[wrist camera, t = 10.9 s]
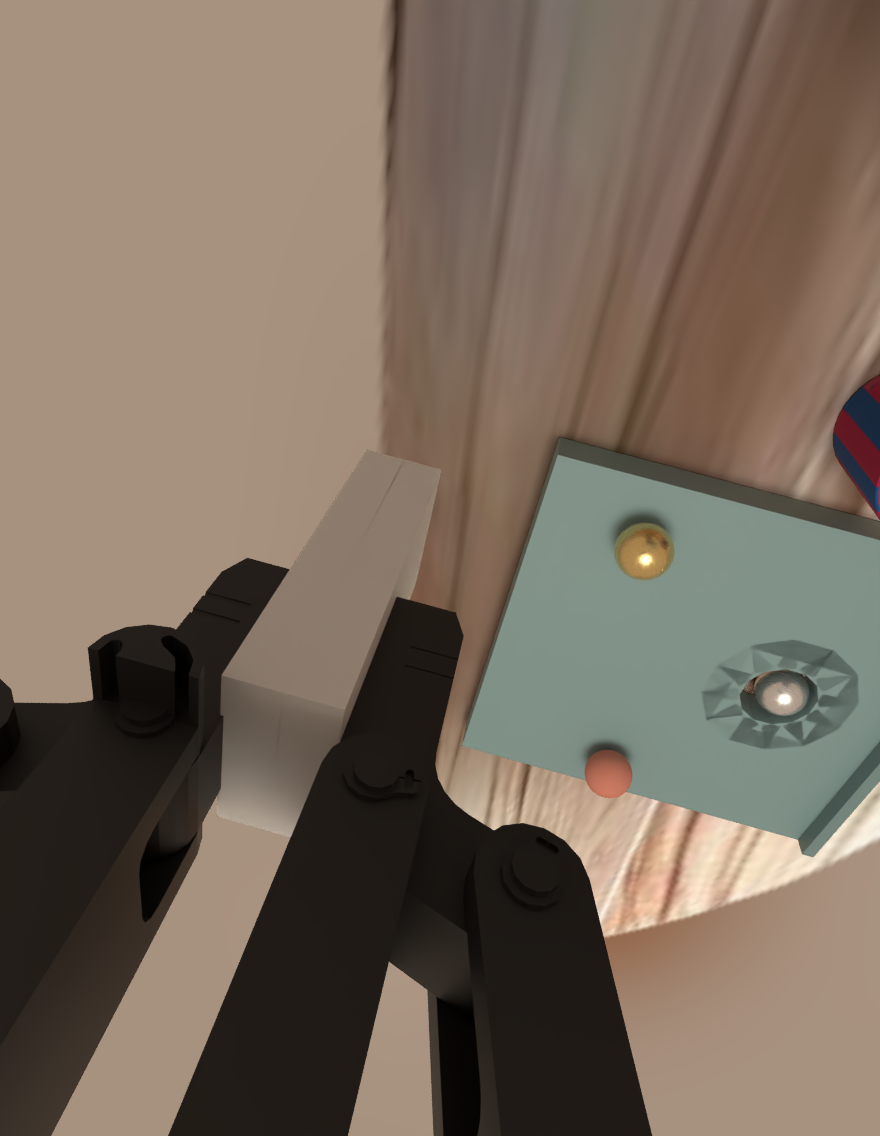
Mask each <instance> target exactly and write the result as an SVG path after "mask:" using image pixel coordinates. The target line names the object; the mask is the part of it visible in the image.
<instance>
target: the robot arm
mask: <svg viewBox="0 0 880 1136" xmlns="http://www.w3.org/2000/svg"><path fill="white" fill-rule="evenodd" d="M440 475H441V469H437V468H433V467H430V466H426V465H422V464H418V463H415V462H411V461H407V460H403V459H400V458H396V457H392V456H388V455H385V454H381V453H377V452H373V451H370V450H367V451H366V452H365V454H364V455H363V457H362V458H361V460H360V461H359V463H358V464H357V466H356V468H355V469H354V471H353V472H352V474H351V475H350V477H349V478H348V480H347V481H346V483H345V485H344V486H343V488H342V489H341V491H340V493H339V494H338V495H337V497H336V499H335V500H334V502H333V503H332V505H331V506H330V508H329V509H328V511H327V513H326V514H325V516H324V517H323V519H322V521H321V522H320V523H319V525H318V527H317V528H316V530H315V531H314V533H313V534H312V536H311V537H310V539H309V540H308V542H307V544H306V545H305V547H304V548H303V550H302V551H301V553H300V554H299V556H298V558H297V559H296V561H295V562H294V564H293V565H292V567H291V569H286V568H283V567H279V566H275V565H272V564H268V563H264V562H260V561H256V560H253V559H249V558H246V559H244V560H243V561H241V562H239V563H237V564H236V565H233V566H232V567H230V568H228V569H226V570H224V571H222V572H221V574H220V575H219V576H218V577H217V579H216V580H215V581H214V582H213V584H212V585H211V586H210V588H209V589H208V590H207V591H206V594H205V596H202V597H201V599H200V600H199V601H198V603H197V604H196V605H195V607H194V608H193V611H192V613H191V612H190V613H189V614H188V615H187V617H186V618H185V619H184V620H183V622H182V623H181V625H180V626H179V627H178V628H177V629H176V630H175V629H173V628H171V627H162V626H156V625H142V626H133V627H125V628H123V629H120V630H117V631H115V632H112V633H109V634H107V635H104V636H103V637H101V638H100V639H99V640H97V641H96V642H95V643H94V644H92V645H91V646H89V647H88V653H89V662H90V671H91V680H92V689H93V700H92V701H87V702H81V703H79V702H78V703H14V701H13V696H12V691H11V689H10V688H9V687H8V686H7V685H6V684H5V683H4V682H3V681H2V680H1V679H0V1136H51V1135H52V1133H53V1131H54V1129H55V1127H56V1125H57V1123H58V1121H59V1119H60V1117H61V1115H62V1114H63V1112H64V1110H65V1108H66V1106H67V1104H68V1102H69V1100H70V1098H71V1096H72V1094H73V1092H74V1090H75V1089H76V1086H77V1085H78V1082H79V1081H80V1079H81V1077H82V1075H83V1073H84V1071H85V1069H86V1067H87V1065H88V1063H89V1062H90V1060H91V1058H92V1056H93V1054H94V1052H95V1050H96V1048H97V1046H98V1044H99V1042H100V1040H101V1038H102V1037H103V1035H104V1033H105V1031H106V1029H107V1027H108V1025H109V1023H110V1021H111V1019H112V1017H113V1015H114V1013H115V1011H116V1010H117V1008H118V1006H119V1004H120V1002H121V1000H122V998H123V996H124V994H125V992H126V990H127V988H128V986H129V985H130V983H131V981H132V979H133V977H134V975H135V973H136V971H137V969H138V967H139V965H140V963H141V962H142V959H143V958H144V956H145V954H146V952H147V950H148V948H149V946H150V944H151V942H152V940H153V938H154V936H155V935H156V933H157V931H158V929H159V927H160V925H161V923H162V921H163V919H164V917H165V915H166V913H167V911H168V910H169V907H170V906H171V904H172V902H173V900H174V898H175V896H176V894H177V892H178V890H179V888H180V886H181V884H182V883H183V880H184V878H185V877H186V875H187V873H188V871H189V869H190V867H191V865H192V863H193V861H194V859H195V858H196V856H197V853H198V850H199V847H200V843H201V839H202V822H203V821H204V819H205V817H206V815H207V813H208V811H209V809H210V807H211V806H212V804H213V802H214V800H215V798H216V796H217V816H218V817H221V818H225V819H229V820H232V821H236V822H239V823H242V824H246V825H249V826H253V827H256V828H260V829H263V830H267V831H270V832H274V833H277V834H281V835H284V836H288V837H291V838H290V840H289V843H288V845H287V848H286V850H285V853H284V855H283V857H282V860H281V862H280V865H279V867H278V870H277V872H276V875H275V877H274V879H273V882H272V884H271V887H270V889H269V892H268V894H267V896H266V899H265V901H264V904H263V906H262V909H261V911H260V913H259V916H258V918H257V921H256V923H255V926H254V928H253V931H252V933H251V935H250V938H249V940H248V943H247V945H246V948H245V950H244V952H243V955H242V957H241V960H240V962H239V965H238V967H237V969H236V972H235V975H234V977H233V979H232V982H231V984H230V986H229V989H228V992H227V994H226V996H225V999H224V1001H223V1004H222V1006H221V1008H220V1011H219V1013H218V1016H217V1018H216V1021H215V1023H214V1026H213V1028H212V1030H211V1033H210V1036H209V1038H208V1040H207V1043H206V1045H205V1047H204V1050H203V1052H202V1055H201V1057H200V1060H199V1062H198V1064H197V1067H196V1069H195V1072H194V1074H193V1077H192V1079H191V1082H190V1084H189V1086H188V1089H187V1091H186V1094H185V1096H184V1099H183V1101H182V1103H181V1106H180V1109H179V1111H178V1113H177V1116H176V1118H175V1120H174V1123H173V1125H172V1128H171V1130H170V1133H169V1135H168V1136H348V1133H349V1128H350V1124H351V1120H352V1116H353V1111H354V1107H355V1103H356V1099H357V1094H358V1090H359V1086H360V1082H361V1077H362V1073H363V1069H364V1065H365V1060H366V1056H367V1051H368V1048H369V1043H370V1039H371V1035H372V1031H373V1026H374V1022H375V1018H376V1014H377V1010H378V1005H379V1001H380V997H381V993H382V988H383V984H384V980H385V976H386V971H387V967H388V962H390V963H392V964H393V965H394V966H396V967H397V968H398V969H400V970H401V971H403V972H404V973H405V974H407V975H408V976H409V977H411V978H412V979H414V980H415V981H416V982H418V983H419V984H420V985H422V986H423V987H424V988H426V989H427V990H428V1011H429V1034H430V1035H429V1036H430V1059H431V1084H432V1107H433V1108H432V1109H433V1131H434V1132H433V1133H434V1136H652V1133H651V1129H650V1125H649V1121H648V1117H647V1113H646V1109H645V1105H644V1101H643V1097H642V1092H641V1088H640V1084H639V1080H638V1076H637V1072H636V1068H635V1064H634V1060H633V1056H632V1052H631V1048H630V1043H629V1039H628V1036H627V1031H626V1027H625V1023H624V1019H623V1015H622V1011H621V1006H620V1002H619V998H618V994H617V990H616V986H615V982H614V978H613V974H612V970H611V966H610V962H609V958H608V953H607V949H606V945H605V941H604V937H603V933H602V929H601V925H600V920H599V916H598V912H597V908H596V904H595V900H594V896H593V892H592V888H591V884H590V880H589V877H588V875H587V873H586V870H585V868H584V866H583V864H582V861H581V859H580V858H579V856H578V855H577V854H576V853H575V852H574V851H573V850H572V849H571V847H570V846H569V845H568V844H567V843H566V842H565V841H564V840H563V839H561V838H559V837H558V836H556V835H554V834H553V833H551V832H550V831H548V830H546V829H545V828H541V827H537V826H533V825H528V824H524V823H520V824H512V825H503V826H501V827H500V828H498V829H496V830H492V829H491V828H489V827H487V826H486V825H484V824H483V823H481V822H479V821H478V820H476V819H475V818H473V817H471V816H470V815H468V814H467V813H466V812H464V811H463V810H462V809H461V808H459V807H458V806H457V805H455V803H454V802H453V801H452V800H451V799H450V797H449V796H448V795H447V794H446V793H445V791H444V789H443V787H442V785H441V783H440V781H439V780H438V776H437V771H436V767H435V761H436V751H437V747H438V743H439V738H440V734H441V730H442V725H443V721H444V717H445V713H446V708H447V704H448V700H449V696H450V691H451V687H452V682H453V679H454V674H455V670H456V666H457V661H458V657H459V653H460V649H461V645H462V640H463V633H462V630H461V627H460V624H459V621H458V618H457V615H456V613H455V612H451V611H448V610H444V609H440V608H437V607H433V606H429V605H426V604H422V603H418V602H415V601H411V600H410V597H411V594H412V592H413V589H414V586H415V583H416V580H417V576H418V571H419V567H420V563H421V558H422V554H423V549H424V545H425V541H426V536H427V532H428V527H429V523H430V519H431V514H432V510H433V506H434V501H435V497H436V492H437V488H438V484H439V479H440Z"/></svg>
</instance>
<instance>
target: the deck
mask: <svg viewBox="0 0 880 1136" xmlns="http://www.w3.org/2000/svg"><path fill="white" fill-rule="evenodd" d="M642 522H647V523H653V524H656V525H658V526H660V527H662V528H663V529H664V530H665V531H667V533H668V534H669V535H670V537H671V538H672V541H673V544H674V549H675V554H674V559H673V562H672V564H671V566H670V568H669V569H668V570H667V571H666V572H665V573H664V574H663V575H661V576H660V577H658V578H655V579H652V580H646V581H642V580H636V579H633V578H631V577H629V576H627V575H626V574H624V573H623V572H622V571H621V570H620V568H619V567H618V565H617V563H616V561H615V556H614V547H615V543H616V540H617V538H618V537H619V535H620V534H621V533H622V531H623V530H625V529H626V528H627V527H629V526H631V525H633V524H636V523H642ZM785 669H787V670H790V671H794V672H798V673H801V674H805V675H806V678H805V680H806V681H807V683H808V686H809V699H808V701H807V703H806V705H805V706H804V708H803V709H802V710H800V711H799V712H797V713H795V714H793V715H789V716H779V715H775V714H772V713H770V712H768V711H766V710H765V709H764V708H763V707H762V706H761V705H760V704H759V703H758V701H757V699H756V697H755V695H752V694H748V693H746V692H745V691H743V688H744V687H745V685H746V684H747V682H748V681H749V680H751V679H753V678H755V677H757V676H758V675H760V674H762V673H764V672H769V671H777V670H785ZM462 746H464V747H468V748H472V749H475V750H479V751H482V752H486V753H489V754H493V755H497V756H500V757H504V758H507V759H511V760H515V761H518V762H522V763H525V764H529V765H532V766H536V767H540V768H543V769H547V770H550V771H554V772H557V773H561V774H565V775H568V776H572V777H575V778H579V779H583V780H586V779H585V766H586V763H587V761H588V759H589V758H590V757H591V756H592V755H593V754H594V753H596V752H598V751H601V750H613V751H616V752H618V753H620V754H622V755H623V756H624V757H625V758H626V759H627V761H628V762H629V764H630V766H631V769H632V782H631V785H630V787H629V788H628V790H627V791H626V792H629V793H633V794H636V795H640V796H643V797H647V798H651V799H654V800H658V801H661V802H665V803H668V804H672V805H676V806H679V807H683V808H686V809H690V810H694V811H697V812H701V813H704V814H708V815H711V816H715V817H719V818H722V819H726V820H729V821H733V822H736V823H740V824H744V825H747V826H751V827H754V828H758V829H762V830H765V831H769V832H772V833H776V834H779V835H783V836H787V837H790V838H794V839H797V840H798V841H799V845H800V848H801V852H802V854H803V855H807V856H811V857H814V856H815V855H816V853H817V852H818V851H819V850H820V849H821V848H822V847H823V845H824V844H825V843H826V842H827V841H828V840H829V839H830V837H831V836H832V835H833V834H834V833H835V832H836V831H837V829H838V828H839V827H840V826H841V825H842V824H843V823H844V821H845V820H846V819H847V818H848V817H849V816H850V815H851V813H852V812H853V811H854V810H855V809H856V808H857V807H858V805H859V804H860V803H861V802H862V801H863V800H864V799H865V798H866V796H867V795H868V794H869V793H870V792H871V791H872V790H873V788H874V787H875V786H876V785H877V784H878V783H879V782H880V522H879V521H875V520H871V519H867V518H864V517H860V516H856V515H852V514H849V513H845V512H841V511H837V510H833V509H830V508H826V507H822V506H818V505H814V504H811V503H807V502H803V501H799V500H796V499H792V498H788V497H784V496H780V495H777V494H773V493H769V492H765V491H761V490H758V489H754V488H750V487H746V486H742V485H739V484H735V483H731V482H727V481H724V480H720V479H716V478H712V477H708V476H705V475H701V474H697V473H693V472H689V471H686V470H682V469H678V468H674V467H671V466H667V465H663V464H659V463H655V462H652V461H648V460H644V459H640V458H636V457H633V456H629V455H625V454H621V453H618V452H614V451H610V450H606V449H602V448H599V447H595V446H591V445H587V444H583V443H580V442H576V441H572V440H568V439H564V438H561V437H559V440H558V443H557V446H556V449H555V452H554V455H553V458H552V461H551V464H550V467H549V471H548V474H547V477H546V480H545V483H544V486H543V489H542V492H541V495H540V498H539V501H538V504H537V507H536V510H535V514H534V517H533V520H532V523H531V526H530V529H529V532H528V535H527V538H526V541H525V544H524V547H523V550H522V553H521V557H520V560H519V563H518V566H517V569H516V572H515V575H514V578H513V581H512V584H511V587H510V590H509V593H508V596H507V600H506V603H505V606H504V609H503V612H502V615H501V618H500V621H499V624H498V627H497V630H496V633H495V636H494V639H493V643H492V646H491V649H490V652H489V655H488V658H487V661H486V664H485V667H484V670H483V673H482V676H481V679H480V682H479V686H478V689H477V692H476V695H475V698H474V701H473V704H472V707H471V710H470V713H469V716H468V719H467V723H466V728H465V733H464V738H463V743H462Z"/></svg>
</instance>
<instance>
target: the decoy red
mask: <svg viewBox="0 0 880 1136" xmlns="http://www.w3.org/2000/svg"><path fill="white" fill-rule="evenodd" d="M585 779H586V782H587V784H588V786H589V787H590V789H591V790H592V791H593V792H594V793H596V794H597V795H599V796H601V797H605V798H615V797H619V796H621V795H622V794H624V793H625V792H626V791H627V790H628V788H629V787H630V785H631V782H632V769H631V766H630V764H629V762H628V761H627V759H626V758H625V757H624V756H623V755H622V754H620V753H618V752H616V751H613V750H601V751H598V752H596V753H594V754H593V755H592V756H591V757H590V758H589V759H588V761H587V763H586V766H585Z"/></svg>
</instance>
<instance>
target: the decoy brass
mask: <svg viewBox="0 0 880 1136" xmlns="http://www.w3.org/2000/svg"><path fill="white" fill-rule="evenodd" d="M674 554H675V549H674V544H673V541H672V538H671V537H670V535H669V534H668V533H667V531H665V530H664V529H663V528H662V527H660V526H658V525H656V524H653V523H647V522H642V523H636V524H633V525H631V526H629V527H627V528H626V529H625V530H623V531H622V533H621V534H620V535H619V537H618V538H617V540H616V543H615V547H614V556H615V561H616V563H617V565H618V567H619V568H620V570H621V571H622V572H623V573H624V574H626V575H627V576H629V577H631V578H633V579H636V580H642V581H646V580H652V579H655V578H658V577H660V576H661V575H663V574H664V573H665V572H666V571H667V570H668V569H669V568H670V566H671V564H672V562H673V559H674Z"/></svg>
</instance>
